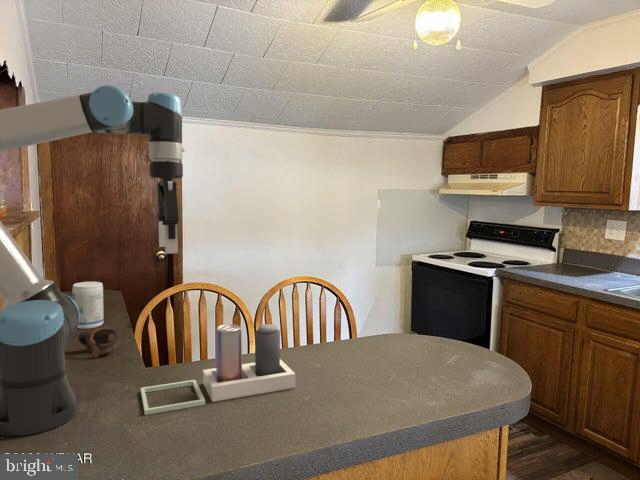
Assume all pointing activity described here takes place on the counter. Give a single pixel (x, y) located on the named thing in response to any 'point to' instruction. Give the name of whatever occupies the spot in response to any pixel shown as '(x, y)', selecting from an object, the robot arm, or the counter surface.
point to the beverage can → (228, 353)
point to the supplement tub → (89, 303)
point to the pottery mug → (99, 340)
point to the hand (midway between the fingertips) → (168, 249)
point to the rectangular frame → (172, 406)
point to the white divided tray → (248, 383)
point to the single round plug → (267, 350)
